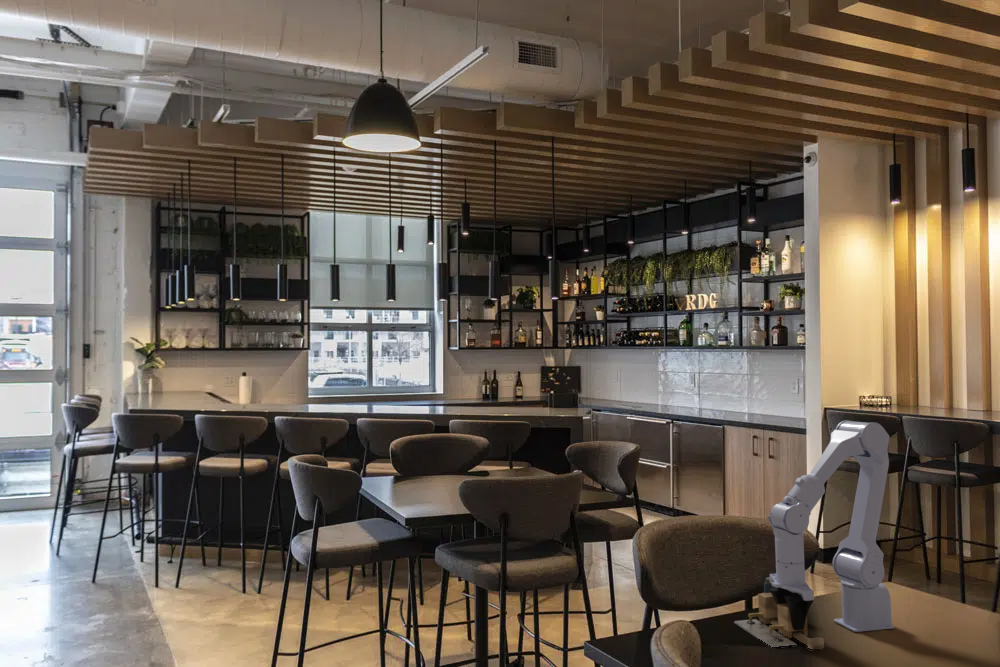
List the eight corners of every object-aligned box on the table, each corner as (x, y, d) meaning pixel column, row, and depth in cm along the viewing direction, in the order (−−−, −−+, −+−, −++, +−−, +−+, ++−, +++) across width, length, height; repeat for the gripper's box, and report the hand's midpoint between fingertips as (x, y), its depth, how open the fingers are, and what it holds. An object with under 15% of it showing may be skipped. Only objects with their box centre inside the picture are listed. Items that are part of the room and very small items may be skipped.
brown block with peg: (797, 630, 177) (796, 602, 177) (807, 636, 173) (806, 607, 173) (765, 633, 175) (763, 605, 176) (774, 639, 171) (773, 610, 172)
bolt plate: (755, 621, 184) (755, 618, 184) (796, 646, 168) (796, 643, 168) (734, 622, 183) (733, 620, 183) (772, 648, 167) (772, 645, 167)
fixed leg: (777, 619, 185) (776, 592, 185) (784, 623, 182) (783, 595, 182) (746, 621, 183) (744, 594, 184) (752, 626, 181) (751, 598, 181)
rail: (769, 616, 187) (768, 607, 187) (824, 649, 166) (823, 638, 166) (756, 617, 187) (756, 608, 187) (810, 650, 165) (810, 640, 165)
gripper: (755, 554, 181) (758, 617, 181) (790, 570, 167) (793, 638, 167) (785, 552, 183) (788, 614, 182) (822, 568, 168) (825, 635, 168)
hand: (792, 626), depth 174 cm, fingers closed on brown block with peg, 4 cm apart
